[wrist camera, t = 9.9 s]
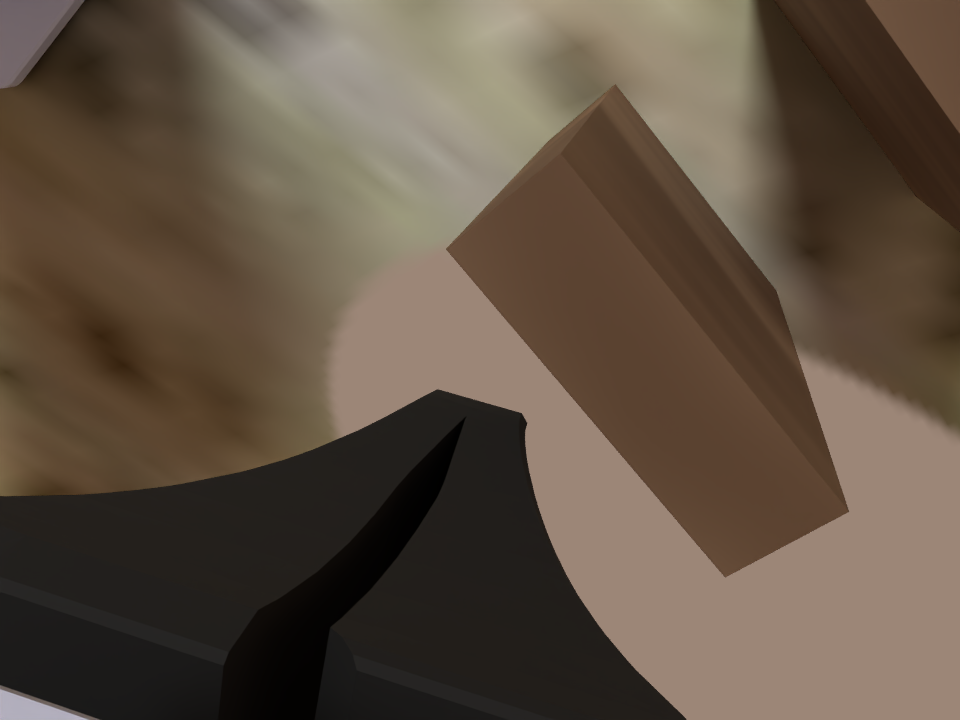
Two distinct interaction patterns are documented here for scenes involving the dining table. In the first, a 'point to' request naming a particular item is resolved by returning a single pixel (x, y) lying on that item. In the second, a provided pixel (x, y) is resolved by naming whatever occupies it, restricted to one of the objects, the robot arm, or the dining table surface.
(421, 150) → the dining table surface
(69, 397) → the dining table surface
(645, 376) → the domino
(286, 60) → the dining table surface
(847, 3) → the domino
